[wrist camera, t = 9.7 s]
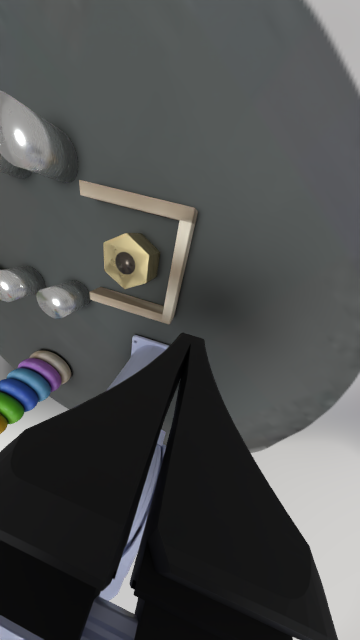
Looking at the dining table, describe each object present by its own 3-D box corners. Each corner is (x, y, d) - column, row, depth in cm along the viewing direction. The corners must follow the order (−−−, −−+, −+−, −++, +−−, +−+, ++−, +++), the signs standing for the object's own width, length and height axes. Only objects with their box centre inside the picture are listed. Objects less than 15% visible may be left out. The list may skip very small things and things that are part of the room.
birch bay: (173, 316, 19) (169, 324, 17) (101, 294, 20) (90, 299, 18) (198, 211, 14) (194, 207, 12) (95, 186, 14) (79, 179, 13)
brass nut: (155, 286, 18) (144, 295, 15) (120, 276, 18) (104, 283, 16) (162, 238, 15) (150, 239, 13) (121, 228, 16) (102, 226, 13)
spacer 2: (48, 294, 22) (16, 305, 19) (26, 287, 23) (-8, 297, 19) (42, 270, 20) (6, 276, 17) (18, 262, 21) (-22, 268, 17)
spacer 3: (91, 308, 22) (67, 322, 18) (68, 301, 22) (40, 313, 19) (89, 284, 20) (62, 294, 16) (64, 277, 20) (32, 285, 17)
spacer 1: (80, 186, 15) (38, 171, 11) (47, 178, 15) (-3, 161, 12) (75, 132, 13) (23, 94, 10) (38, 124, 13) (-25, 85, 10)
